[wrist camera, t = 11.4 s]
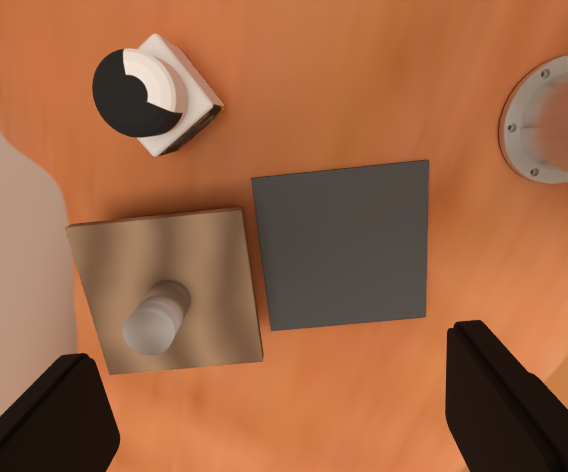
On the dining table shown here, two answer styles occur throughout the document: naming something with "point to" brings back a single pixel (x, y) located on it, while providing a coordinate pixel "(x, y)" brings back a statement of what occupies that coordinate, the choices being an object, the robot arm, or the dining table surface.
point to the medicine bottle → (154, 95)
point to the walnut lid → (170, 290)
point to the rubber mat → (344, 244)
